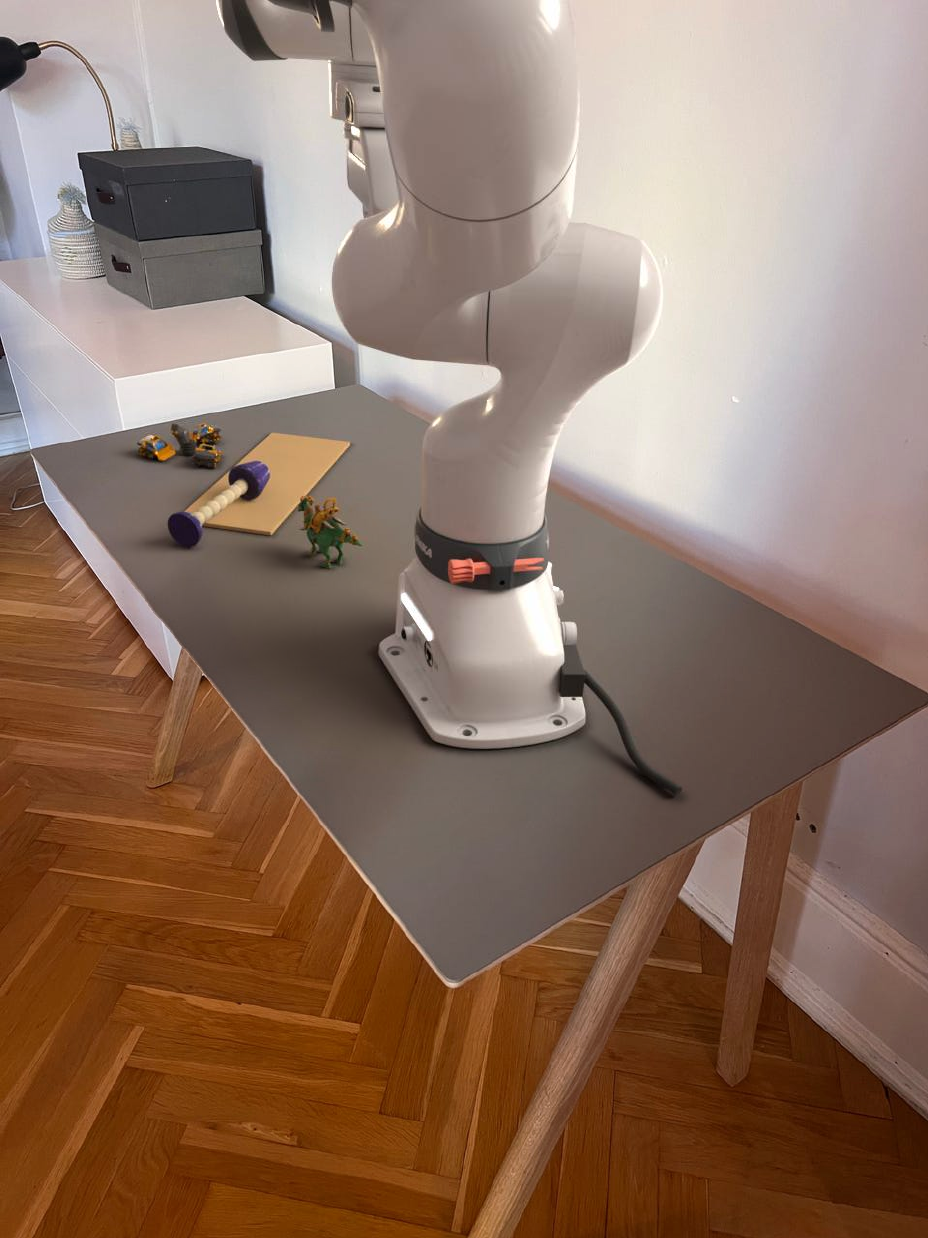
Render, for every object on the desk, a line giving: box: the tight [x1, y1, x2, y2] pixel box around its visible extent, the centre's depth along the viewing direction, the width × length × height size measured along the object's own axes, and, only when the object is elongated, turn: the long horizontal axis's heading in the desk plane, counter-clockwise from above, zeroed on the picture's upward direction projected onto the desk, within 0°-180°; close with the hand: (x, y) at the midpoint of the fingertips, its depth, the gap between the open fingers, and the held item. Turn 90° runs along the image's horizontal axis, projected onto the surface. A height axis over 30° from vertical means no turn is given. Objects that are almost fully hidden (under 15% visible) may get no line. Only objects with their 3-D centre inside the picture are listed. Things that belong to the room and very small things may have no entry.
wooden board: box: [183, 432, 351, 536], centre depth 121 cm, size 30×12×1 cm, turn 168°
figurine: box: [297, 495, 363, 569], centre depth 100 cm, size 3×12×8 cm, turn 42°
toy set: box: [136, 422, 222, 469], centre depth 126 cm, size 12×11×5 cm
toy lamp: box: [167, 461, 270, 548], centre depth 109 cm, size 5×5×17 cm
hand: (376, 250), depth 96 cm, fingers closed
